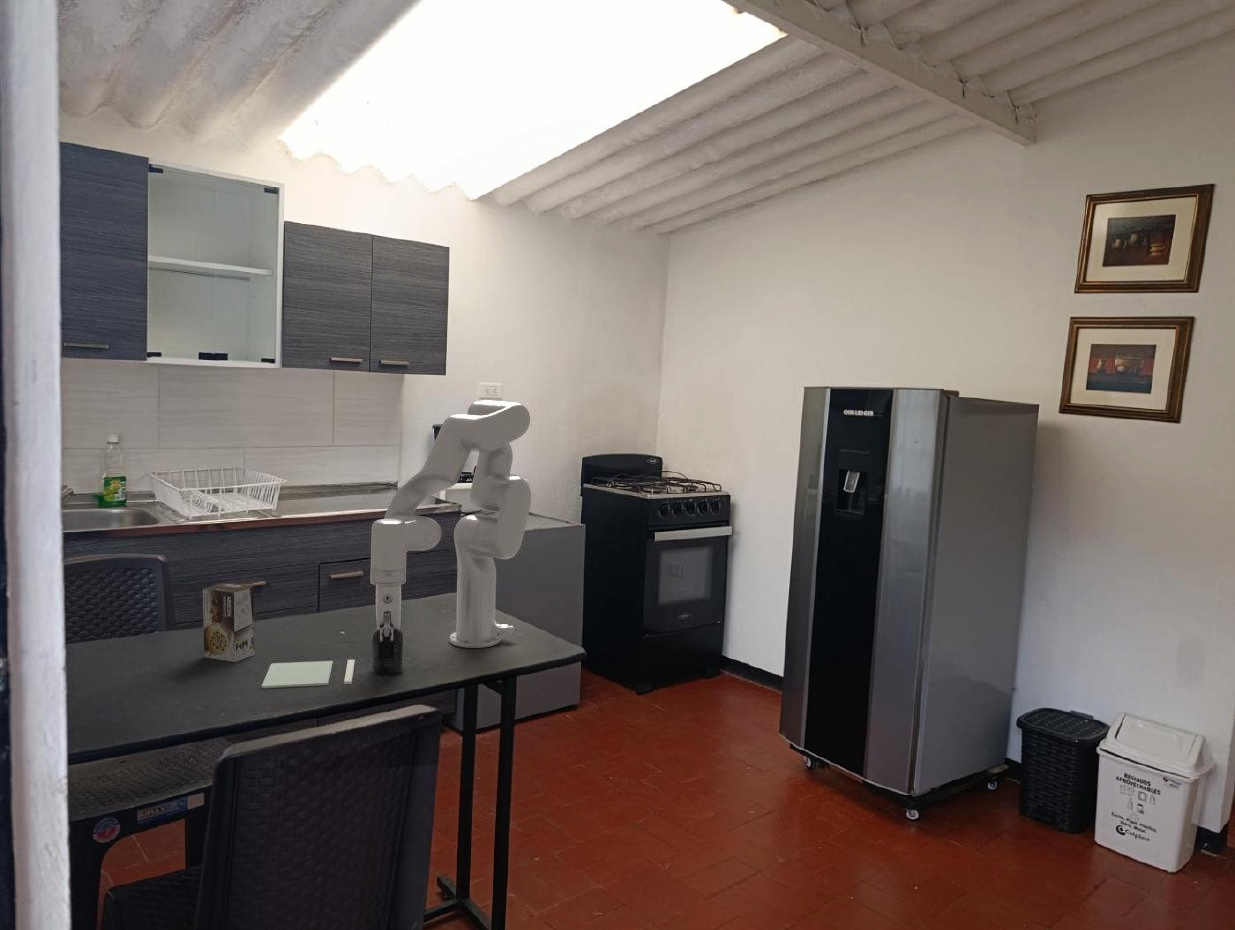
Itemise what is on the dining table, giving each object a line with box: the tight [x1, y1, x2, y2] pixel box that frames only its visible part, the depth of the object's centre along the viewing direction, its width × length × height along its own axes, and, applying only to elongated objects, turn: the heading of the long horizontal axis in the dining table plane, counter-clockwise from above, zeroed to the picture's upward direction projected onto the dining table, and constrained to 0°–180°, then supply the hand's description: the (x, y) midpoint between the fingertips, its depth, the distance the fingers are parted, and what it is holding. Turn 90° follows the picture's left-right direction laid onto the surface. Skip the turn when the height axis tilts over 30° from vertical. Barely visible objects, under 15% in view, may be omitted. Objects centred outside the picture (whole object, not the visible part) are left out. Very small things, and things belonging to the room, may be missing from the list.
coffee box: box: [202, 582, 255, 663], centre depth 192 cm, size 9×6×16 cm
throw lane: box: [261, 659, 356, 689], centre depth 184 cm, size 18×14×1 cm
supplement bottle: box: [371, 616, 405, 677], centre depth 187 cm, size 7×7×12 cm
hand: (386, 651), depth 187 cm, fingers open, 9 cm apart
